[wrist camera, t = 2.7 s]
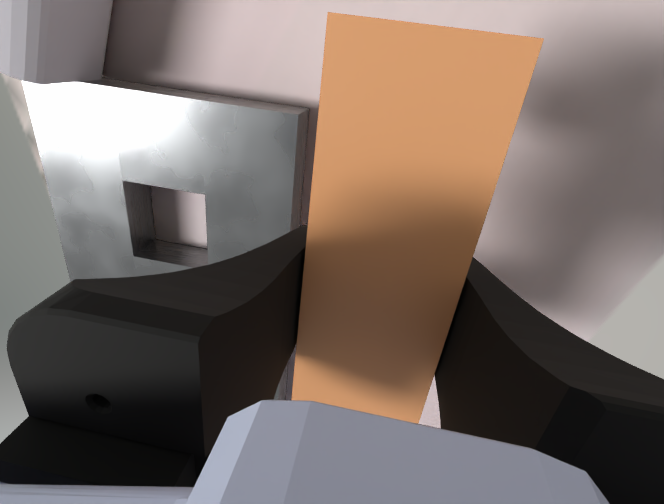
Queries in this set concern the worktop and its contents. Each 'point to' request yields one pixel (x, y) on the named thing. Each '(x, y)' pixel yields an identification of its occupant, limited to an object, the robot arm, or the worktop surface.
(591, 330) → the worktop surface
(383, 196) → the clip
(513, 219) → the worktop surface
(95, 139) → the gray rectangular slab
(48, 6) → the charger
